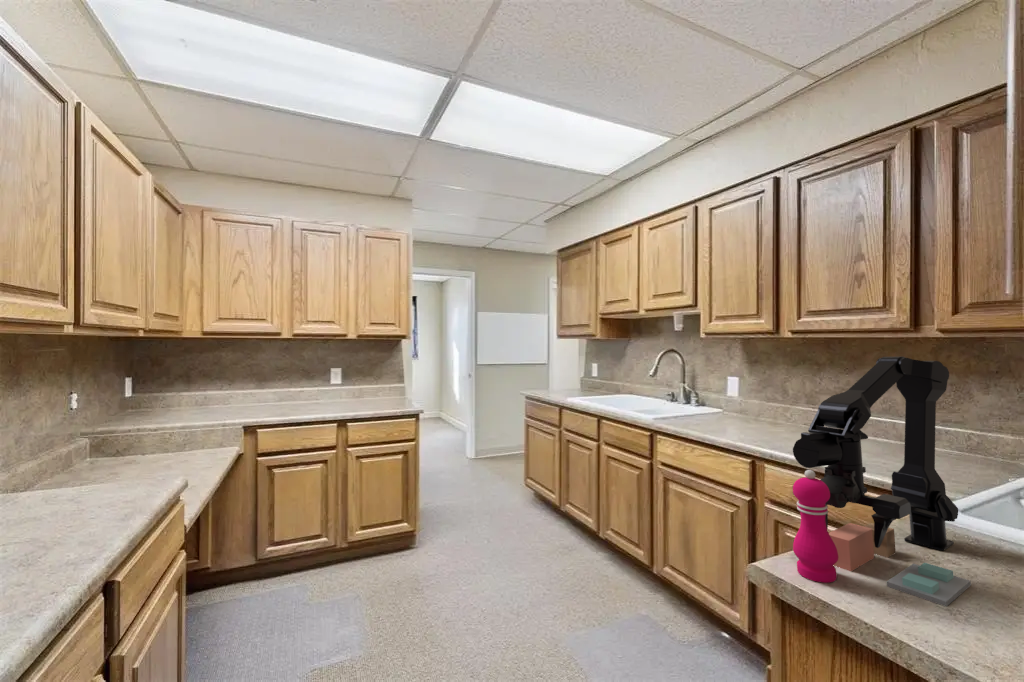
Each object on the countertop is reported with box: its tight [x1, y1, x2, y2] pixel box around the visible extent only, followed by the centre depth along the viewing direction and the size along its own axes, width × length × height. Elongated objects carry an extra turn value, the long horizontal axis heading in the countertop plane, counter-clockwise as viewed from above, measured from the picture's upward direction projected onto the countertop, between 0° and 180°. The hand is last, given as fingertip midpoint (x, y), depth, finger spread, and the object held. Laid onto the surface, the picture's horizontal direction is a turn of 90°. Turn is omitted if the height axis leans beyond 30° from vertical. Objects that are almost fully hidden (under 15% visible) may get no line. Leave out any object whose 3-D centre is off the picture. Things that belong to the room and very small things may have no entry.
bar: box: [828, 522, 875, 572], centre depth 90 cm, size 10×4×6 cm, turn 120°
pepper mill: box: [792, 469, 838, 584], centre depth 85 cm, size 7×7×20 cm
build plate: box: [886, 562, 972, 607], centre depth 80 cm, size 12×8×2 cm, turn 120°
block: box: [863, 522, 896, 559], centre depth 93 cm, size 4×4×5 cm
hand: (850, 539), depth 90 cm, fingers open, 9 cm apart
